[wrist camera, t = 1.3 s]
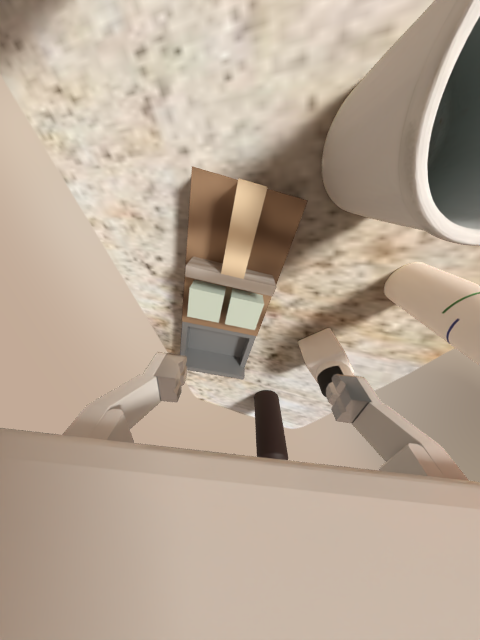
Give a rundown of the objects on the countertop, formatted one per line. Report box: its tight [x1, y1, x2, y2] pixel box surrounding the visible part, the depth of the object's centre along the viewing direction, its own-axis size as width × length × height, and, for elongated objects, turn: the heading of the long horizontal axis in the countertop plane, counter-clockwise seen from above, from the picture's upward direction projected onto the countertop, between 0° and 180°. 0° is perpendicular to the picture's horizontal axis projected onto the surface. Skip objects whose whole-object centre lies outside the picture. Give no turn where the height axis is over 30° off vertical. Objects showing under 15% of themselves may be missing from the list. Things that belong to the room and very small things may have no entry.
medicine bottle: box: [298, 328, 354, 397], centre depth 36 cm, size 7×7×12 cm
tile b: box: [225, 288, 264, 330], centre depth 30 cm, size 5×5×3 cm
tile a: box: [187, 280, 226, 323], centre depth 29 cm, size 5×5×3 cm
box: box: [180, 321, 256, 379], centre depth 38 cm, size 10×14×6 cm
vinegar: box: [254, 390, 288, 460], centre depth 44 cm, size 7×7×20 cm
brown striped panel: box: [182, 167, 307, 336], centre depth 29 cm, size 22×14×4 cm, turn 167°
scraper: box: [185, 179, 276, 296], centre depth 23 cm, size 12×12×4 cm
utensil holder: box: [322, 0, 480, 246], centre depth 15 cm, size 15×15×18 cm
